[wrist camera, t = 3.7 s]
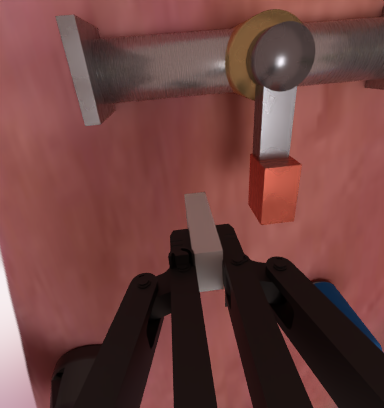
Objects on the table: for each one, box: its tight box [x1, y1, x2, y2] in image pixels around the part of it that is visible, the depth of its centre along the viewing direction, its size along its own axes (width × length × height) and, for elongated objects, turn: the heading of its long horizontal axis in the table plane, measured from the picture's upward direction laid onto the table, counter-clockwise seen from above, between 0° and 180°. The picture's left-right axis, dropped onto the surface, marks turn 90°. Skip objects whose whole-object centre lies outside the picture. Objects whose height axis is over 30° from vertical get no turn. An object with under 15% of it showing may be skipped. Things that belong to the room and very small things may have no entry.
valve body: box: [55, 7, 384, 126], centre depth 22 cm, size 30×7×7 cm, turn 94°
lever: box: [246, 21, 315, 225], centre depth 19 cm, size 14×4×4 cm, turn 4°
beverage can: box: [313, 282, 382, 351], centre depth 37 cm, size 6×6×12 cm
